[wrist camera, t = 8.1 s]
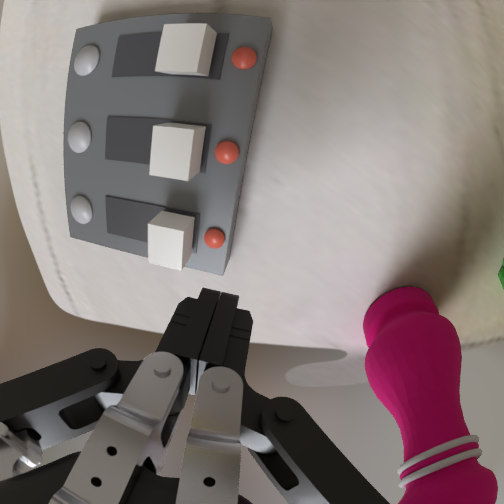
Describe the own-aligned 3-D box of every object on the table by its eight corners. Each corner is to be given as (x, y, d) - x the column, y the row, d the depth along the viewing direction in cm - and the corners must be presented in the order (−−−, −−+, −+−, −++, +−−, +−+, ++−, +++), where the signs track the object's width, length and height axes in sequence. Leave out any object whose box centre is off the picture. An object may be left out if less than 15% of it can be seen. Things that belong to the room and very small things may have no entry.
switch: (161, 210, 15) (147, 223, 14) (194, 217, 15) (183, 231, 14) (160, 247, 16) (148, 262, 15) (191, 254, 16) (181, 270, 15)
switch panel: (94, 32, 12) (74, 28, 10) (272, 28, 11) (269, 16, 10) (85, 225, 19) (68, 238, 17) (229, 259, 19) (222, 277, 17)
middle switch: (168, 122, 13) (153, 125, 11) (205, 126, 13) (193, 129, 11) (164, 166, 14) (149, 175, 12) (199, 172, 14) (187, 181, 12)
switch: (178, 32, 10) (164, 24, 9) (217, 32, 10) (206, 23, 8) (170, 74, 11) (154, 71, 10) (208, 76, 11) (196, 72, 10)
